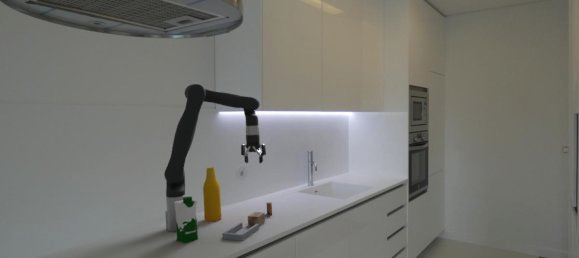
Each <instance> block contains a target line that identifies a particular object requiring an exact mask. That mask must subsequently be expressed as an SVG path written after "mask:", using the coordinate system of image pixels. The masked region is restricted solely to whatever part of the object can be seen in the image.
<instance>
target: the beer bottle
mask: <svg viewBox="0 0 579 258" xmlns="http://www.w3.org/2000/svg"><path fill="white" fill-rule="evenodd" d="M205 174H206V175H205V176H206V177H205V180H204V183H203V186H202V187H203V188H202V191H203V212H204V221H205V222H208V223H214V222H218V221H221V220H222V199H221V198H222V197H221V186H220V183H219V181H218V179H217V175H216V168H215V166H209V167H206V173H205Z"/></svg>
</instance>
